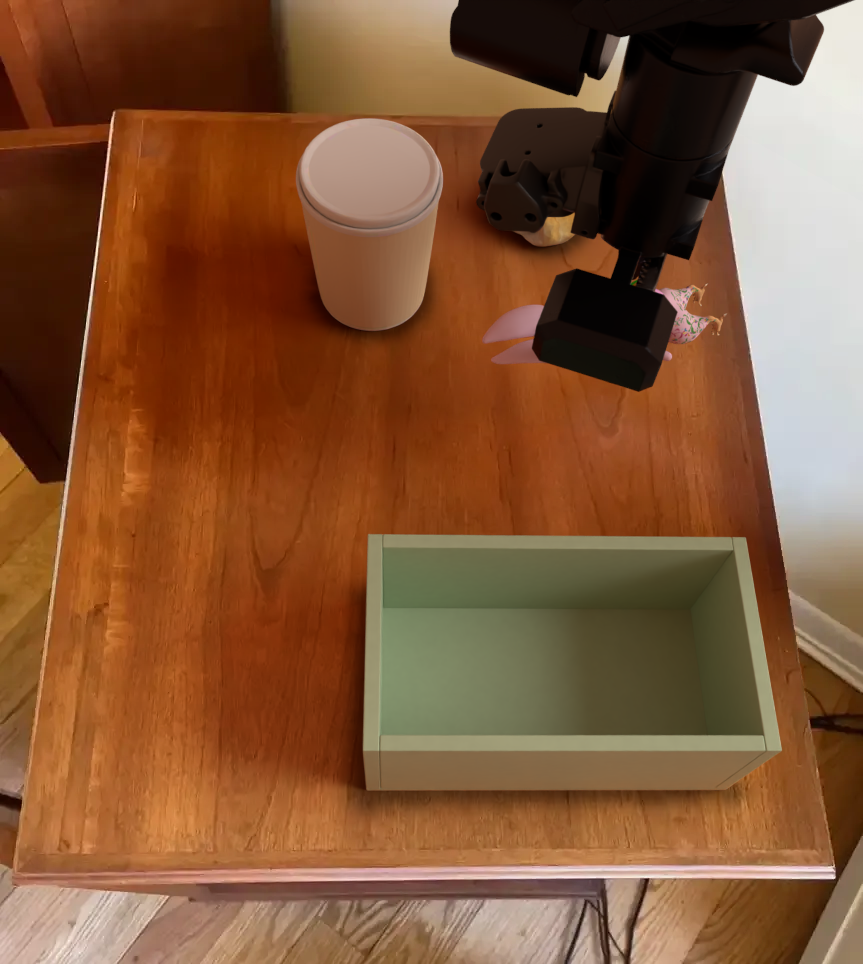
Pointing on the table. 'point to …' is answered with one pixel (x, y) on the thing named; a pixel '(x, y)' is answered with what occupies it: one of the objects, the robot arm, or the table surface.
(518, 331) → the rabbit figure
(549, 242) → the pastry
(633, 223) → the robot arm
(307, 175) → the coffee cup
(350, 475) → the table surface
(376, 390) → the table surface
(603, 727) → the bin
